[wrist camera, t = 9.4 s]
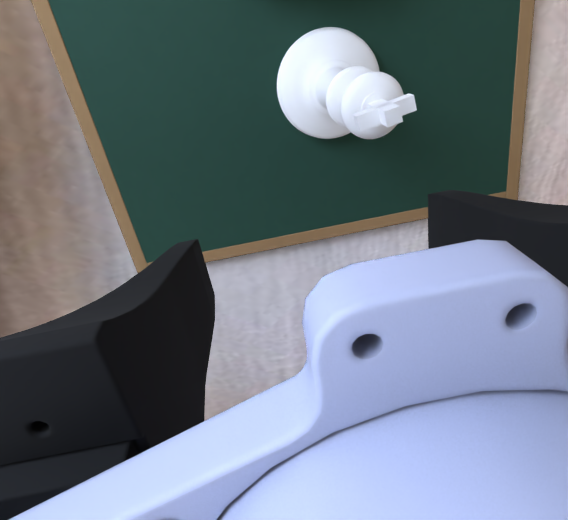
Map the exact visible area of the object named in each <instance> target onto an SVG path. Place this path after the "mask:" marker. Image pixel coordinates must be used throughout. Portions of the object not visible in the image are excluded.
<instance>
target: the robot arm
mask: <svg viewBox="0 0 568 520" xmlns="http://www.w3.org/2000/svg"><path fill="white" fill-rule="evenodd" d="M428 241H429V249H426V250H421V251H416V252H411V253H405V254H400V255H395V256H390V257H385V258H380V259H375V260H369V261H364V262H359V263H354V264H350V265H348V266H346V267H343V268H341V269H339V270H337V271H334V272H332V273H330V274H328V275H325V276H323V277H322V279H321V280H320V281H319V282H318V283H317V285H316V286H315V287H314V288H313V290H312V291H311V292H310V293H309V294H308V296H307V297H306V298H305V305H304V313H303V320H302V324H303V330H304V335H305V340H306V346H307V360H306V363H305V366H304V367H303V369H302V370H301V371H300V372H299V373H298V374H297V375H295V376H293V377H291V378H289V379H287V380H285V381H283V382H281V383H279V384H277V385H275V386H273V387H271V388H269V389H267V390H265V391H263V392H261V393H259V394H257V395H255V396H253V397H251V398H250V399H248V400H246V401H244V402H242V403H240V404H238V405H236V406H234V407H232V408H230V409H228V410H226V411H224V412H222V413H220V414H218V415H216V416H214V417H212V418H210V419H208V420H206V421H204V406H205V383H206V374H207V367H208V361H209V355H210V348H211V342H212V335H213V328H214V321H215V295H214V291H213V288H212V284H211V281H210V278H209V274H208V271H207V267H206V264H205V261H204V257H203V254H202V250H201V247H200V244H199V240H198V239H194V240H189V241H184V242H179V243H177V244H175V245H173V246H172V247H171V248H169V249H168V250H167V251H166V252H164V253H163V254H162V255H161V256H160V257H158V258H157V259H156V260H155V261H153V262H152V263H151V264H150V265H149V266H147V267H146V268H145V269H143V270H142V271H141V272H139V273H138V274H137V275H135V276H134V277H133V278H131V279H130V280H129V281H127V282H126V283H124V284H123V285H121V286H120V287H118V288H117V289H115V290H114V291H112V292H110V293H109V294H107V295H105V296H103V297H102V298H100V299H98V300H96V301H94V302H92V303H90V304H88V305H86V306H84V307H82V308H80V309H78V310H76V311H74V312H72V313H69V314H67V315H65V316H62V317H60V318H57V319H55V320H53V321H50V322H47V323H45V324H42V325H39V326H36V327H34V328H31V329H28V330H25V331H22V332H18V333H15V334H12V335H8V336H5V337H2V338H0V520H568V206H566V205H552V204H542V203H534V202H527V201H519V200H513V199H507V198H501V197H495V196H490V195H484V194H479V193H473V192H467V191H458V190H446V191H441V192H436V193H431V194H428Z"/></svg>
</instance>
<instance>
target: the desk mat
mask: <svg viewBox="0 0 568 520" xmlns="http://www.w3.org/2000/svg"><path fill="white" fill-rule="evenodd" d="M31 2H32V4H33V7H34V9H35V12H36V15H37V17H38V20H39V22H40V25H41V27H42V30H43V32H44V35H45V37H46V40H47V43H48V45H49V48H50V50H51V53H52V55H53V58H54V60H55V63H56V66H57V68H58V71H59V73H60V76H61V78H62V81H63V83H64V86H65V89H66V91H67V94H68V96H69V99H70V101H71V104H72V106H73V109H74V112H75V114H76V117H77V119H78V122H79V124H80V127H81V129H82V132H83V135H84V137H85V140H86V142H87V145H88V147H89V150H90V152H91V155H92V158H93V160H94V163H95V165H96V168H97V170H98V173H99V175H100V178H101V180H102V183H103V186H104V188H105V191H106V193H107V196H108V198H109V201H110V203H111V206H112V209H113V211H114V214H115V216H116V219H117V221H118V224H119V226H120V229H121V232H122V234H123V237H124V239H125V242H126V244H127V247H128V249H129V252H130V255H131V257H132V260H133V262H134V265H135V267H136V270H137V272H138V273H139V272H141V271H142V270H143V269H145V268H146V267H147V266H149V265H150V264H151V263H152V262H153V261H155V260H156V259H157V258H158V257H160V256H161V255H162V254H163V253H164V252H166V251H167V250H168V249H169V248H171V247H172V246H173V245H175V244H177V243H179V242H184V241H189V240H194V239H198V240H199V244H200V247H201V250H202V254H203V257H204V261H205V263H206V262H211V261H216V260H221V259H226V258H231V257H236V256H241V255H246V254H251V253H256V252H261V251H266V250H271V249H276V248H281V247H286V246H291V245H296V244H301V243H306V242H311V241H316V240H321V239H326V238H331V237H336V236H341V235H346V234H351V233H356V232H361V231H366V230H371V229H376V228H381V227H386V226H391V225H396V224H401V223H406V222H411V221H416V220H421V219H426V218H428V194H431V193H436V192H441V191H446V190H458V191H467V192H473V193H479V194H484V195H490V196H495V197H501V198H507V199H513V200H518V188H519V177H520V166H521V154H522V143H523V131H524V120H525V108H526V97H527V85H528V74H529V62H530V51H531V40H532V28H533V17H534V5H535V0H31ZM324 27H337V28H342V29H345V30H348V31H350V32H352V33H354V34H356V35H357V36H358V37H360V38H361V39H362V40H363V41H364V42H365V43H366V44H367V45H368V46H369V47H370V49H371V50H372V52H373V53H374V55H375V57H376V60H377V63H378V66H379V71H380V72H383V73H386V74H389V75H390V76H392V77H393V78H394V79H396V80H397V82H398V83H399V84H400V86H401V88H402V91H403V94H404V95H406V94H408V93H409V94H412V95H414V98H415V103H416V108H417V110H416V111H414V112H411V113H408V114H406V115H403V116H402V118H403V122H401V123H398V124H397V125H396V126H395V128H394V129H393V130H391V131H390V132H389V133H388V134H386V135H384V136H382V137H380V138H376V139H363V138H360V137H357V136H356V135H354V134H353V133H349V134H347V135H344V136H341V137H338V138H332V139H322V138H316V137H313V136H309V135H307V134H305V133H303V132H301V131H300V130H298V129H297V128H296V127H294V126H293V125H292V124H291V123H290V122H289V120H288V119H287V118H286V116H285V114H284V113H283V111H282V109H281V106H280V103H279V100H278V95H277V77H278V71H279V68H280V65H281V62H282V60H283V58H284V56H285V54H286V52H287V51H288V50H289V48H290V47H291V46H292V45H293V43H294V42H296V41H297V40H298V39H299V38H300V37H302V36H303V35H305V34H306V33H308V32H310V31H313V30H315V29H319V28H324Z"/></svg>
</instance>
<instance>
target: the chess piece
mask: <svg viewBox="0 0 568 520" xmlns="http://www.w3.org/2000/svg"><path fill="white" fill-rule="evenodd" d="M277 95H278V100H279V103H280V106H281V109H282V111H283V113H284V114H285V116H286V118H287V119H288V120H289V122H290V123H291V124H292V125H293V126H294V127H296V128H297V129H298V130H300V131H301V132H303V133H305V134H307V135H309V136H313V137H316V138H322V139H332V138H338V137H341V136H344V135H347V134H349V133H353V134H354V135H356V136H357V137H360V138H363V139H376V138H380V137H382V136H384V135H386V134H388V133H389V132H390V131H391V130H393V129H394V128H395V126H396V125H397V124H398V123H401V122H403V118H402V116H403V115H406V114H408V113H411V112H414V111H416V110H417V108H416V103H415V98H414V95H412V94H409V93H408V94H406V95H404V94H403V91H402V88H401V86H400V84H399V83H398V82H397V80H396V79H394V78H393V77H392V76H390V75H389V74H386V73H383V72H380V71H379V66H378V63H377V60H376V57H375V55H374V53H373V52H372V50H371V49H370V47H369V46H368V45H367V44H366V43H365V42H364V41H363V40H362V39H361V38H360V37H358V36H357V35H356V34H354V33H352V32H350V31H348V30H345V29H342V28H337V27H324V28H319V29H315V30H313V31H310V32H308V33H306V34H305V35H303V36H302V37H300V38H299V39H298V40H297V41H296V42H294V43H293V45H292V46H291V47H290V48H289V50H288V51H287V52H286V54H285V56H284V58H283V60H282V62H281V65H280V68H279V71H278V77H277Z"/></svg>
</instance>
